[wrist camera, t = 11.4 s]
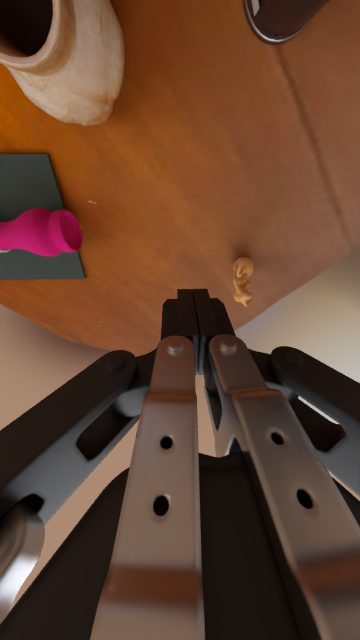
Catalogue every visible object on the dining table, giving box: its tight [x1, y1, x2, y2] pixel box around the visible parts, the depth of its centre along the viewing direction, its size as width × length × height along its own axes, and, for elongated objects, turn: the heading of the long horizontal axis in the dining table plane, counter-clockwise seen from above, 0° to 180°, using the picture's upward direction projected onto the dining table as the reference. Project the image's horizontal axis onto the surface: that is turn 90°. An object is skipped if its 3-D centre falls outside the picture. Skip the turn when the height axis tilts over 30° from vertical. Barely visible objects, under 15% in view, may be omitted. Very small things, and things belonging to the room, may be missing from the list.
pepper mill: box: [0, 208, 82, 256], centre depth 34 cm, size 7×7×20 cm
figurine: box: [233, 257, 254, 306], centre depth 38 cm, size 8×6×12 cm
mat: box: [0, 154, 86, 280], centre depth 36 cm, size 20×20×1 cm
